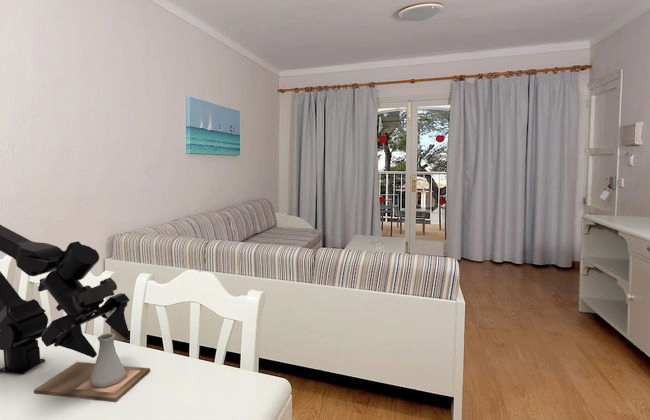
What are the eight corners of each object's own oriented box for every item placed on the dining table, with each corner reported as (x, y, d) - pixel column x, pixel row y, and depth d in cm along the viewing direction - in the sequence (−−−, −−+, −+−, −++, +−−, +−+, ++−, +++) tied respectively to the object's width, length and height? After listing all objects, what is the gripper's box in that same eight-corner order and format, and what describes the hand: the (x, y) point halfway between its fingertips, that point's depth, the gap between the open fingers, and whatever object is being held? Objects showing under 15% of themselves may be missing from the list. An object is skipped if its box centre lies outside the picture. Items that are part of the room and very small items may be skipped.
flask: (103, 392, 81) (100, 346, 80) (82, 382, 84) (79, 339, 83) (133, 375, 88) (132, 333, 86) (113, 367, 91) (111, 327, 90)
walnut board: (34, 393, 82) (33, 389, 82) (77, 364, 94) (77, 361, 94) (116, 401, 79) (115, 397, 79) (150, 371, 91) (150, 367, 91)
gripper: (48, 282, 75) (97, 343, 74) (121, 260, 93) (162, 309, 92) (20, 316, 78) (67, 376, 77) (96, 288, 96) (135, 336, 94)
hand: (112, 346), depth 85 cm, fingers open, 9 cm apart
